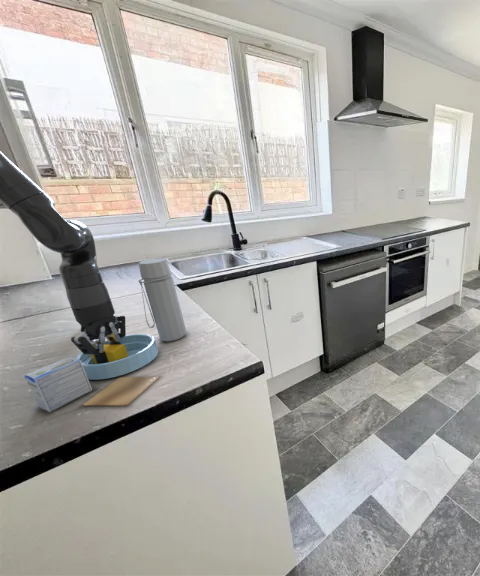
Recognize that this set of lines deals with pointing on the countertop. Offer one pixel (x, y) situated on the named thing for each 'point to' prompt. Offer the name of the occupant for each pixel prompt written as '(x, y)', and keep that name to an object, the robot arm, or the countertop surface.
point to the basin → (139, 355)
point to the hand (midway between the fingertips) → (111, 359)
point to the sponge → (113, 353)
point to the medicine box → (58, 383)
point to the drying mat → (121, 391)
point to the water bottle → (162, 299)
